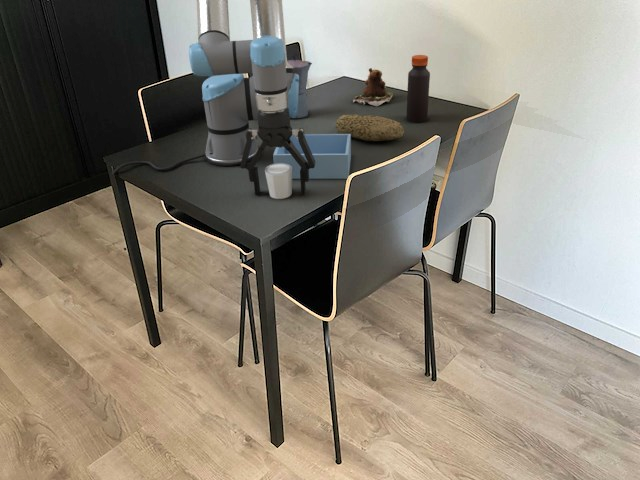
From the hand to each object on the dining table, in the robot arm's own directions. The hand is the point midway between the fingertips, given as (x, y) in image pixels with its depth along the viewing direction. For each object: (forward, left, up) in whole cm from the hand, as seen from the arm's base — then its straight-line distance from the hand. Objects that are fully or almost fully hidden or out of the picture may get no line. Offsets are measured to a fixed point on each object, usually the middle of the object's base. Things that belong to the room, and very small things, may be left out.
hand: (280, 192), depth 140 cm
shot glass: (0, 0, -1) cm, 1 cm away
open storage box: (+7, +16, 0) cm, 17 cm away
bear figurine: (+23, +74, -1) cm, 77 cm away
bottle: (+37, +53, 0) cm, 65 cm away
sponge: (+22, +37, 0) cm, 43 cm away
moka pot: (-4, +58, -1) cm, 58 cm away
